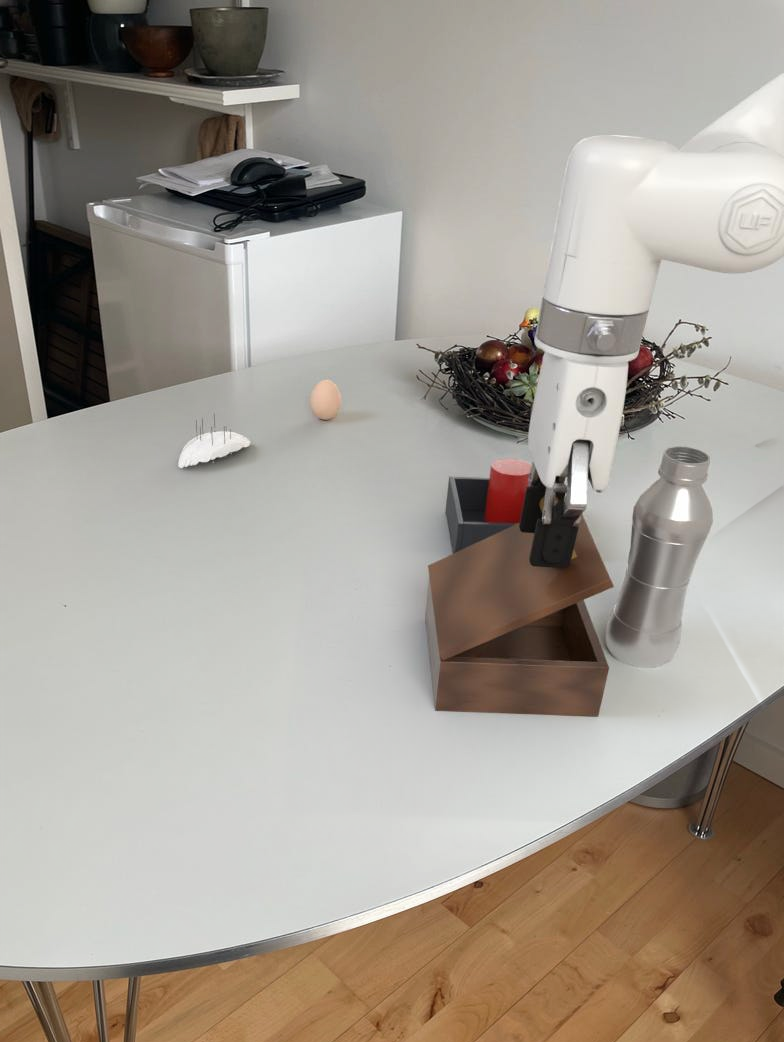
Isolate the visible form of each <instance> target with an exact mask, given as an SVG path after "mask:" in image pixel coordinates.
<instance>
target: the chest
mask: <svg viewBox="0 0 784 1042" xmlns="http://www.w3.org/2000/svg"><path fill="white" fill-rule="evenodd" d="M426 594H427V595H426V605H425V612H424V613H425V614H424V621H425V630H426V640H427V648H428V657H429V667H430V676H431V685H432V695H433V704H434V705H433V706H434V711H435V712H451V713H452V712H453V713H477V714H503V715H504V714H506V715H530V716H531V715H533V716H558V717H583V718H584V717H585V718H598V717H599V715H600V710H601V706H602V702H603V697H604V693H605V688H606V684H607V680H608V675H609V670H610V666H609V663H608V660H607V658H606V655H605V653H604V650H603V647H602V645H601V641H600V639H599V636H598V634H597V631H596V628H595V626H594V623H593V620H592V618H591V615H590V613H589V610H588V608H587V605H586V602H585V599H584V600H582V601H580V602H577V603H575V604H573V605H570V606H568V607H566V608H563V609H561V610H559V611H557V612H554V613H552V614H550V615H547V616H545V617H543V618H540V619H538V620H536V621H533V622H531V623H529V624H526V625H524V626H522V627H519V628H517V629H515V630H512V631H510V632H508V633H506V634H503V635H501V636H499V637H496V638H494V639H492V640H489V641H487V642H485V643H482V644H480V645H478V646H475V647H473V648H471V649H468V650H466V651H464V652H461V653H459V654H457V655H455V656H452V657H450V658H448V659H445V660H442V658H441V656H440V655H439V650H438V642H437V634H436V626H435V618H434V610H433V602H432V594H431V586H430V578H429V577H428V583H427V592H426Z"/></svg>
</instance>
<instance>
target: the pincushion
mask: <svg viewBox="0 0 784 1042" xmlns="http://www.w3.org/2000/svg"><path fill="white" fill-rule="evenodd" d="M215 415H216V414H215V413H214V414H213V421H214V422H213V423H214V425H213V426H211V430H213V427H216V419H215ZM203 420H204V419H201V426H202V427H201V428H202V431H204V421H203ZM201 428H199V435H196V436H195V437H194V438H192V439H190V440H189V441H187V443H185V445H184V447H183V448H182V450H181V453H180V455H179V457H178V462H177V467H178V468H179V469H183V468H184V467H185V468H187V467H189V466H192V467H193V466H196V465H198V464H199V463H208V462H210V460H211V461H212V464H214V463H215V459H216V458H223V457H224V458H227V455H229V454H230V455H232V453H233V452H239V450H241V449H243V448H244V449H245V448H248V447H250V445H251V443H252V441H251V440H250V439H249V438H247V437H246V436H244V435H242V434H239V433H237V432H234V431H231V430H226V427H223V430H222V431H221V430H220V431H211V432H206V433H202V432H201ZM195 429H196V432H198V425H197V421H195Z"/></svg>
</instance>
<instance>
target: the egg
mask: <svg viewBox="0 0 784 1042" xmlns="http://www.w3.org/2000/svg"><path fill="white" fill-rule="evenodd" d="M309 404H310V405H309V406H310V409H311V411H312V413H313V414H314V415H315V416H316V418H318V419H320V420H324V421H326V420H327V421H328V420H331V419H333V418H334V417H335V416H336V415H338V413H339V412H340V409H341V407H342V395H341V392H340V390H339V387H338V386H337V385H336V384H335V382H333V381H332V380H329V379H322V380H320V381H319V382H317V384H315V386H314V387H313V389H312V391H311V394H310V399H309Z"/></svg>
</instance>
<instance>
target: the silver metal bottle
mask: <svg viewBox="0 0 784 1042" xmlns="http://www.w3.org/2000/svg"><path fill="white" fill-rule="evenodd" d="M660 462H661V463H660V464H659V466H658V470H657V471H658V472H657V474H658V476H659V478H658V479H657V480H656V481H655V482H653V483H652V484H651V485H650V486H648V487H647V488H646V490H644V492H642V493H641V494H640V495H639V498H637V501H636V502H635V504H634V505H633V510H632V511H633V512H632V517H631V532H630V533H631V534H630V547H629V552H628V558H627V565H626V569H625V575H624V579H623V582H622V584H621V588H620V591H619V594H618V597H617V600H616V602H615V604H614V606H613V608H612V611H611V612H610V615H609V617H608V620H607V622H606V624H605V642H604V643H605V645H606V647H607V649H608V651H609V653H610V654H611V656H613V657H614V658H615V659H616V660H618V661H619V662H621V663H623V664H624V665H628V666H631V667H634V668H638V669H657V668H660V667H663V666H664V665H666V664H667V663H669V662H670V661H672V659H673V658H674V657H675V654H676V653H677V650H678V648H679V646H680V644H681V637H682V617H683V612H684V606H685V602H686V601H685V600H686V595H687V590H688V589H687V588H688V587H689V584H690V581H691V577H692V575H693V572H694V569H695V566H696V562H697V560H698V558H699V556H700V553H701V552H702V549H703V547H704V545H705V542H706V540H707V539H708V536H709V533H710V532H711V529H712V525H713V523H714V517H713V515H714V514H713V507H712V505H711V502H710V499H709V497H708V495H707V493H706V492H705V489H704V487H703V484H704V483H706V482H707V480H708V477H709V476H708V475H709V473H708V471H709V466H710V462H711V456H710V455H709V454H708V453H706V452H705V451H703V450H701V449H698V448H694V447H690V446H681V445H679V446H670V447H667V448H665V449H664V451H663V453H662V457H661V461H660Z"/></svg>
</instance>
